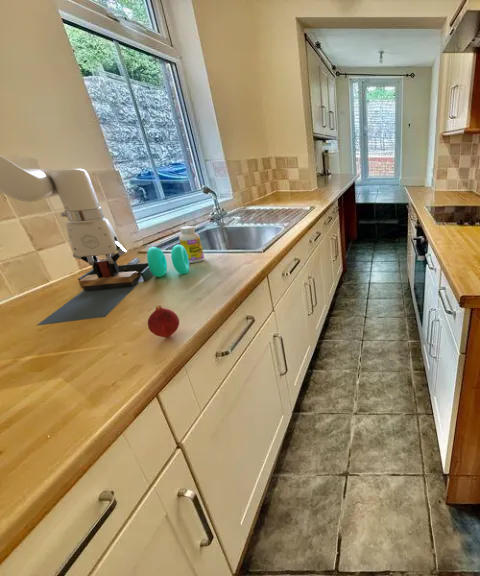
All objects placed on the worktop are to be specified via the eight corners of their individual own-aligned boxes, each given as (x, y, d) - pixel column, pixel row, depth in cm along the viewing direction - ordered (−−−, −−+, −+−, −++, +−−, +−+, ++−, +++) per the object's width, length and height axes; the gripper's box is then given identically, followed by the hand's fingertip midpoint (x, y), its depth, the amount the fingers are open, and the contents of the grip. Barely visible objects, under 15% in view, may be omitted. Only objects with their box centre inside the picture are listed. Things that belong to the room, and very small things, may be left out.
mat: (36, 326, 77) (36, 325, 77) (87, 288, 98) (86, 287, 97) (105, 317, 81) (105, 316, 81) (140, 283, 101) (139, 282, 101)
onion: (188, 334, 74) (179, 303, 70) (161, 346, 69) (150, 314, 66) (174, 327, 76) (165, 297, 73) (148, 339, 72) (136, 307, 68)
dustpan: (145, 282, 102) (142, 272, 101) (81, 288, 98) (77, 278, 96) (165, 262, 120) (162, 253, 119) (111, 266, 115) (108, 258, 114)
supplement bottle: (191, 264, 117) (182, 230, 112) (181, 261, 121) (172, 228, 115) (208, 259, 123) (200, 226, 117) (198, 256, 126) (190, 224, 121)
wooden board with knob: (82, 291, 95) (71, 265, 91) (91, 284, 99) (81, 259, 96) (132, 286, 98) (123, 260, 94) (139, 280, 102) (131, 255, 99)
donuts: (187, 277, 106) (179, 248, 102) (152, 281, 102) (142, 252, 98) (191, 267, 114) (184, 240, 110) (159, 271, 111) (150, 244, 107)
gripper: (41, 219, 84) (69, 283, 92) (113, 216, 89) (134, 276, 96) (58, 214, 91) (83, 274, 98) (125, 211, 95) (144, 268, 103)
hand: (108, 275), depth 97 cm, fingers closed on wooden board with knob, 2 cm apart
